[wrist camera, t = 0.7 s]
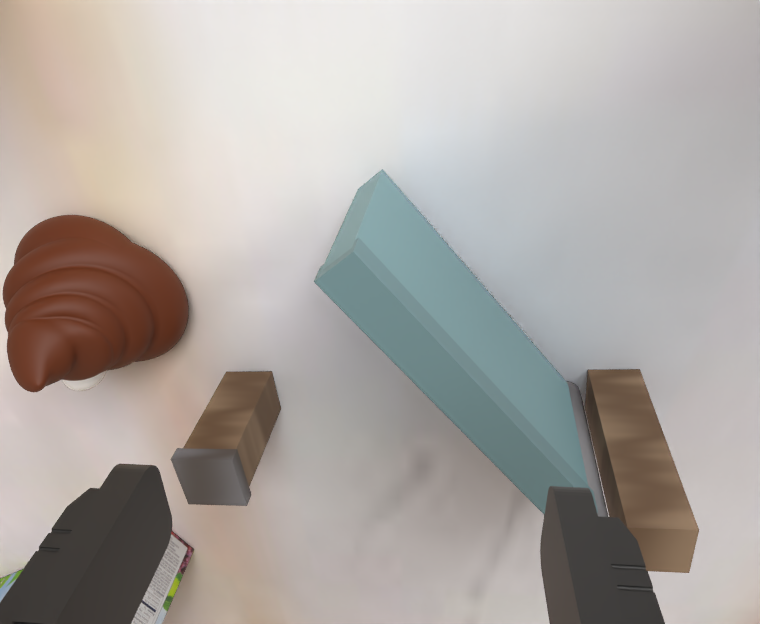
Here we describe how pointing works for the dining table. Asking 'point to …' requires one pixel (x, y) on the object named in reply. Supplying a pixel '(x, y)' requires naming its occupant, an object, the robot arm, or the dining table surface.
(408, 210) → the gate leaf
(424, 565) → the dining table surface
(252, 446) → the gate posts
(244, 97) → the dining table surface
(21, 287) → the poop emoji
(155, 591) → the snack box
